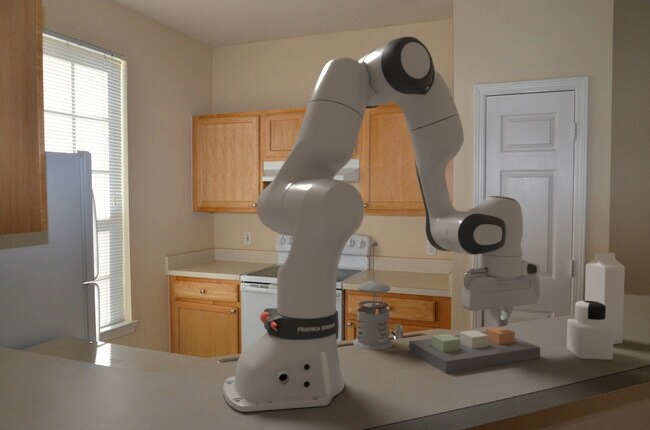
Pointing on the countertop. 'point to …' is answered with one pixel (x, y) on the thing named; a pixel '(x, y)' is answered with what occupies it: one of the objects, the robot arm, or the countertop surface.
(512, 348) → the button panel
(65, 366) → the countertop surface
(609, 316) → the milk
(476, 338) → the cream button
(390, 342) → the french press
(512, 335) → the terracotta button
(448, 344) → the sage button
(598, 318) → the medicine bottle
